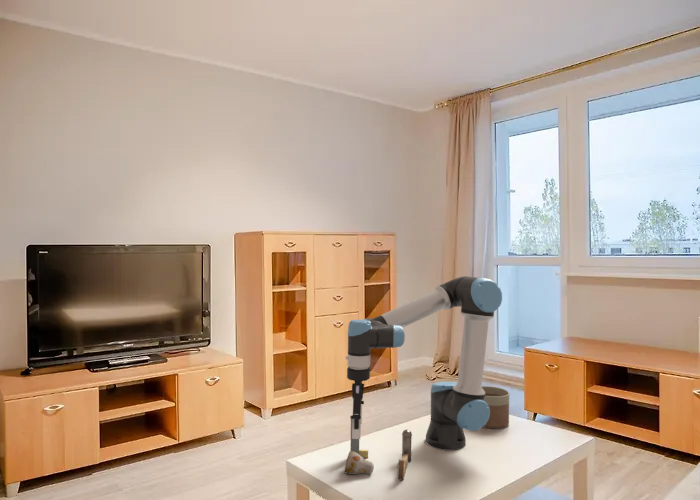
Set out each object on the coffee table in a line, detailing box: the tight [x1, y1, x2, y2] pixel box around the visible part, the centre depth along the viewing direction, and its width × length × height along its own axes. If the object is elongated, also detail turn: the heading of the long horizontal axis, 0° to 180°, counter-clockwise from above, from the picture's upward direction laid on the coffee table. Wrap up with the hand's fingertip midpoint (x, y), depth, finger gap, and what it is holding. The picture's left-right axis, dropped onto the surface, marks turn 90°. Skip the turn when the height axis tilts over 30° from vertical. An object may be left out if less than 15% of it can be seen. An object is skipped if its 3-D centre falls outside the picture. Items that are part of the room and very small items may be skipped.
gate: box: [397, 454, 409, 481], centre depth 173 cm, size 14×2×6 cm, turn 167°
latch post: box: [349, 414, 369, 459], centre depth 183 cm, size 6×4×15 cm, turn 87°
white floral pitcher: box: [343, 450, 375, 475], centre depth 172 cm, size 8×10×10 cm
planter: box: [482, 385, 510, 429], centre depth 222 cm, size 16×16×14 cm
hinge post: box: [401, 429, 413, 464], centre depth 182 cm, size 3×3×11 cm
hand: (356, 431), depth 171 cm, fingers open, 13 cm apart
